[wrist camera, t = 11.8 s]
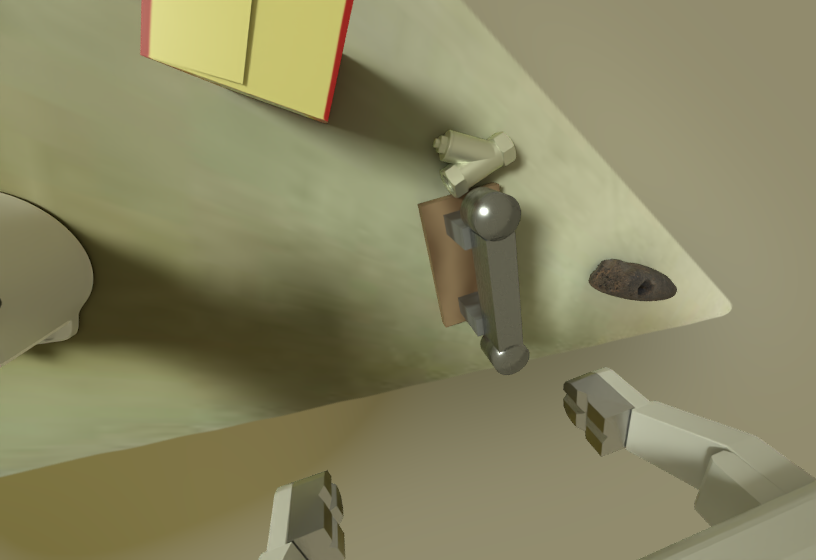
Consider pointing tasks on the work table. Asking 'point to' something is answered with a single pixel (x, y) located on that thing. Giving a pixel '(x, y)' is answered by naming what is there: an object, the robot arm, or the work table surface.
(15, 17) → the work table surface
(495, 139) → the pipe fitting
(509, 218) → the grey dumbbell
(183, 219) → the work table surface
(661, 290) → the perforated stone tool
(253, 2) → the baking soda box
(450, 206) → the peg stand
